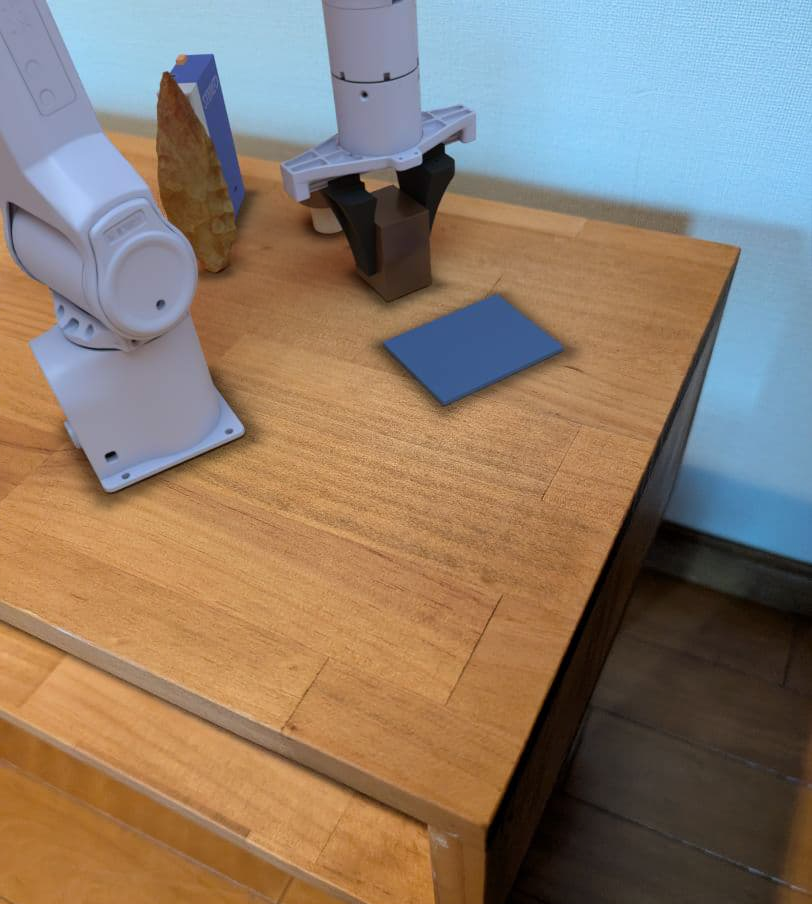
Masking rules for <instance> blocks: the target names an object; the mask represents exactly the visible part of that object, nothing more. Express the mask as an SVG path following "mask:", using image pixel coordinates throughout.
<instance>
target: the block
mask: <svg viewBox="0 0 812 904" xmlns="http://www.w3.org/2000/svg"><path fill="white" fill-rule="evenodd" d="M369 193H370V194H372V195H373V196H374V197H376V198H377V204H376V210H375V220H374V242H375V250H376V274H374V275H372V276H367V275H366V274H365V273H364V272H363V271H361V270H360V269H359V268H358V267H357V266H356V263H355V262H354V263H355V272H356V274H357V275H358V276H359V277H361V278H362V279H363V281H365V282H366V283H367V284H368V285H369V286H370V287H371V288H372V289H374V291H376V293H378V294H379V295H380V296H381V297H382V298H383V299H384V300H386V301H387V302H391V301H393V300H395V299H398V298H400V297H403V296H405V295H408V294H410V293H413V292H415V291H418V290H420V289H423V288H425V287H428V286H430V285H432V283H433V282H432V279H433V278H432V257H431V235H430V232H429V211H428V210H427V209H426V208H425V207H423V206H422V205H421V204H419V203H418V202H417V201H415V200H414V199H413V198H411V197H410V196H409V195H407V194H406V193H404V192H403V191H402V190H400V189H399V186H397V185H395V184H394V183H393V184H390V185H388V186H387V185H386V186H385V187H381V188H379V189H376V190H373V191H370V192H369Z"/></svg>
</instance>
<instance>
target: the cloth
mask: <svg viewBox="0 0 812 904" xmlns="http://www.w3.org/2000/svg"><path fill="white" fill-rule="evenodd" d="M382 347H383V348H384V349H385V350H386V351H387V352H388V353H389V354H390V355H391V356H392V357H394V359H395V360H396V361H397V362H398V363H399V364H401V365H402V367H404V368H405V370H406V371H407V372H408V373H410V375H411V376H412V377H413V378H414V379H416V380H417V381H418V382H419V383H420V384H421V385H422V386H423V387H424V388H425V389H426V391H428V392H429V393H430V394H431V395H432V397H434V398H435V400H437V401H438V402H439V403H440V404H441V405H442V406H443V407H445V406H447V405H450V404H452V403H454V402H456V401H458V400H461V399H462V398H464V397H467V396H469V395H471V394H473V393H476V392H479V391H480V390H483V389H484V388H486V387H489V386H491V385H493V384H495V383H497V382H500V381H502V380H504V379H506V378H508V377H510V376H513V375H515V374H517V373H520V372H521V371H524V370H526V369H528V368H530V367H531V366H534V365H537V364H539V363H540V362H542V361H545V360H547V359H549V358H552V357H554V356H556V355H558V354H560V353H562V352H564V350H565V349H564V348H565V347H564V345H562V344H561V343H560V342H559V341H557V340H556V339H555V338H554V337H552V336H551V335H550V334H549V333H547V332H546V331H545V330H543V329H542V328H541V327H539V325H537V324H536V323H534V322H533V321H532V320H531V319H530V318H528V317H526V316H525V315H524V314H523V313H522V312H520V311H519V310H518V309H516V308H515V307H514V306H512V305H511V303H509V302H507V300H505V299H504V298H503V297H501V296H500V295H498V293H495V294H493V295H491V296H489V297H486V298H484V299H481V300H479V301H477V302H474V303H472V304H470V305H469V304H468V305H467V306H465V307H463V308H459V309H458V310H456V311H453V312H451V313H448V314H446V315H443V316H441V317H439V318H436V319H435V320H432V321H429V322H427V323H424V324H422V325H420V326H417V327H415V328H412V329H410V330H408V331H406V332H403V333H400V334H398V335H396V336H394V337H392V338H389V339H387V340H384V341H383V342H382Z"/></svg>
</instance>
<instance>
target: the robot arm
mask: <svg viewBox="0 0 812 904" xmlns="http://www.w3.org/2000/svg"><path fill="white" fill-rule="evenodd" d="M321 7H322V15H323V22H324V30H325V32H324V33H325V39H326V46H327V56H328V63H329V72H330V79H331V87H332V95H333V96H332V97H333V102H334V103H333V104H334V112H335V119H336V128H337V133H336V134H334V135H332V136H329V138H327V139H325V140H323V141H322V142H320V143H319V144H317V145H315V146H313V147H312V148H309V149H308V150H306V151H305V152H303V153H301V154H299V155H297V156H295V157H293V158H290V159H287V160H286V161H282V162H280V163H279V169H280V174H281V179H282V184H283V189H284V192H285V193H286V194H287V195H288V196H289V197H290V198H291V199H293V201H295V202H296V203H299V202H300V201H303V200H306V199H308V198H309V197H310V193H311V192H313V191H316V190H319V192H320V193H321V195H322V196H323V197H324V199H325V200H326V202H327V203H328V205H329V206H330V208H331V210H332V211H333V213H334V215H335V216H336V218H337V220H338V222H339V224H340V225H341V227H342V230H341V231H343V234H344V236H345V238H346V241H347V243H348V246H349V248H350V250H351V253H352V256H353V260H354V263H356V264H355V267H356V266H357V267H358V268H359V269H360V270H361V271H363V272H364V273H365V274H366V275H367V276H372V275H374V274H376V250H375V242H374V220H375V210H376V204H377V198H376V197H374V196H373V195H372V194H370V192H369V191H368V190H367V189H366V183H365V181H362V180H361V176H362V175H365V174H368V173H370V172H373V171H379V170H385V169H393V170H394V171H395V174H396V178H397V183H398V188H399V189H400V190H402V191H403V192H404V193H406V194H407V195H409V196H410V197H411V198H413V199H414V200H415V201H417V202H418V203H419V204H421V205H422V206H423V207H425V208H426V209H427V210H428V211H429V232H430V236H431V235H432V231H433V226H434V222H435V219H436V215H437V212H438V209H439V207H440V204H441V201H442V199H443V197H444V195H445V192H446V190H447V188H448V187H449V185H450V183H451V182H452V180H453V178H454V177H455V175H456V160H455V159H454V158H453V157H452V156H450V155H449V154H447V153H446V146H448V145H451V144H454V143H458V142H461V143H462V144H469V143H471V142H475V141H476V140H477V112H476V111H475V110H474V109H472V108H470V107H469V106H466V105H464V104H462V103H457V104H454V105H451V106H446V107H442V108H441V107H440V108H435V109H429V110H423V111H422V97H421V96H422V95H421V94H422V93H421V73H420V52H419V51H420V50H419V32H418V31H419V29H418V27H419V26H418V7H417V0H321ZM0 211H1V215H2V223H3V235H4V242H5V245H6V248H7V250H8V253H9V255H10V257H11V258H12V260H13V261H14V264H15V265H16V266H17V267H18V268H19V269H20V270H21V272H23V273H24V274H25V275H26V276H27V277H29V278H30V279H32V280H33V281H36V282H38V283H40V284H42V285H44V286H47V287H48V290H49V292H50V294H51V296H52V300H53V309H54V315H55V318H56V323H55V324H54V325H52V326H51V327H50V328H49V329H47V330H46V331H44V332H43V333H41V334H39V335H38V336H35V337H33V338H32V339H31V340H29V341H28V342H27V344H28V346H29V348H30V350H31V352H32V354H33V356H34V358H35V360H36V362H37V364H38V366H39V368H40V370H41V372H42V374H43V375H44V377H45V378H44V379H46V382H47V383H48V385H49V387H50V390H51V391H52V393H53V395H54V397H55V399H56V401H57V403H58V405H59V406H60V408H61V410H62V412H63V415H65V418H66V421H64V422H63V425H64V427H65V429H66V431H67V433H68V435H69V437H70V439H71V441H72V443H73V445H74V447H75V449H76V450H79V449H82V450H83V452H84V454H85V455H86V458H87V459H88V461H89V463H90V464H91V467H92V469H93V471H94V473H95V474H96V476H97V478H98V480H99V482H100V484H101V486H102V488H103V490H104V491H105V492H107V493H113V492H114V493H115V492H117V491H120V490H121V489H124V488H125V487H129V486H131V485H133V484H135V483H137V482H140V481H142V480H145V479H146V478H149V477H152V476H153V475H156V474H158V473H160V472H163V471H165V470H167V469H169V468H172V467H174V466H176V465H179V464H181V463H183V462H185V461H188V460H190V459H192V458H195V457H197V456H199V455H202V454H204V453H206V452H208V451H211V450H213V449H215V448H218V447H220V446H223V445H225V444H227V443H229V442H231V441H233V440H236V439H238V438H241V437H242V436H244V434H245V433H246V430H245V426H244V425H243V423H242V422H241V421H240V419H239V418H238V416H237V415H236V414H235V412H234V411H233V410H232V408H231V407H230V405H229V404H228V402H227V401H226V400H225V398H224V397H223V396H222V394H221V392H219V390H218V389H217V387H216V386H215V384H214V382H213V378H212V376H211V373H210V369H209V366H208V363H207V361H206V357H205V354H204V351H203V349H202V348H203V347H202V345H201V342H200V338H199V335H198V331H197V329H196V326H195V323H194V319H193V317H192V313H191V310H190V308H191V306H192V304H193V301H194V298H195V296H196V293H197V287H198V281H199V280H198V279H199V270H198V269H199V268H198V267H199V266H198V262H197V258H196V256H195V253H194V251H193V248H192V246H191V244H190V243H189V241H188V239H187V238H186V237H185V236H184V235H183V233H182V232H181V231H180V230H178V229H177V228H176V227H175V226H173V225H172V224H171V223H170V222H168V218H166V217H165V216H164V214H163V212H161V210H160V208H159V206H158V203H157V202H156V199H155V198H154V195H153V192H152V190H151V187H150V186H149V185H148V183H147V182H146V181H145V179H144V178H143V177H142V176H141V175H140V173H138V171H137V170H136V169H135V168H134V166H133V165H132V164H131V163H130V162H129V161H128V160H127V158H126V157H125V156H124V155H123V154H122V153H121V151H120V150H119V149H118V148H117V146H115V144H114V143H113V142H112V141H111V140H110V138H109V137H108V135H106V133H105V132H104V130H103V127H102V125H101V123H100V120H99V119H98V116H97V114H96V112H95V109H94V107H93V105H92V103H91V100H90V98H89V95H88V93H87V91H86V88H85V86H84V84H83V83H82V80H81V78H80V75H79V73H78V71H77V69H76V66H75V64H74V61H73V59H72V57H71V55H70V52H69V50H68V47H67V46H66V43H65V41H64V39H63V36H62V34H61V32H60V29H59V27H58V25H57V22H56V21H55V18H54V16H53V14H52V11H51V9H50V6H49V5H48V2H47V0H0Z"/></svg>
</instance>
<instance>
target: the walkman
mask: <svg viewBox="0 0 812 904" xmlns="http://www.w3.org/2000/svg"><path fill="white" fill-rule="evenodd" d="M169 73H170V74H171V75H172V77H173V78H174V80H175V81H176V82H177V83H178V86H179V87H180V88H181V89H182V91H183V93H184V94H185V95H186V97H187V99H188V100H189V101H190V103H191V106H192V107H193V109H194V112H195V114H196V115H197V116H198V118H199V120H200V121H201V123H202V124H203V126H204V128H205V130H206V133H207V135H208V136H209V137H210V138H211V140H212V141H213V143H214V147H215V149H216V154H217V157H218V160H219V161H220V164H221V167H222V172H223V177H224V179H225V181H226V183H227V185H228V192H229V198H230V200H231V202H232V204H233V209H234V214H235V215H234V220H235V221H236V220H237V219H236V218H237V216H238V214H239V211H240V208H241V206H242V204H243V201H244V198H245V196H246V189H245V184H244V181H243V176H242V173H241V167H240V164H239V158H238V155H237V150H236V146H235V141H234V138H233V131H232V129H231V124H230V120H229V115H228V111H227V108H226V106H227V105H226V102H225V98H224V97H225V96H224V94H223V89H222V85H221V81H220V75H219V71H218V68H217V63H216V59H215V54H214V53H201V54H186V53H185V54H178V56H177V57H176V59H175V64H174V66H173V68H172V69H171V70H170V71H169ZM159 91H160V88H159V89H158V90H157V92H156V97H157V98H158V96H159Z"/></svg>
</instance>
